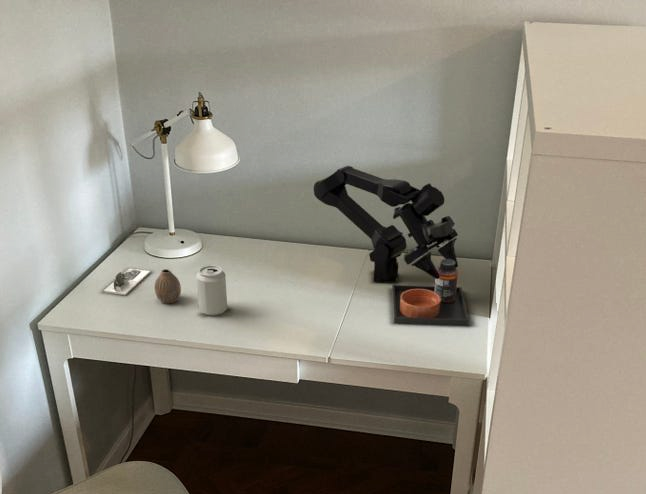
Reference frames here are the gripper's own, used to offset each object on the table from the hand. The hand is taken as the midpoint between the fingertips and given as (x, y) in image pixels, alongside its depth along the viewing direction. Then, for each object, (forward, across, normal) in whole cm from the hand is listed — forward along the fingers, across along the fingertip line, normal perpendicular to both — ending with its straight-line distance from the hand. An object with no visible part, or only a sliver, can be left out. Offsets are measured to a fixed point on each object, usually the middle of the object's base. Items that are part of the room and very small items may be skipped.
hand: (447, 272), depth 214 cm
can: (-24, -46, +37) cm, 64 cm away
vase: (-34, -50, +46) cm, 76 cm away
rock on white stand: (-46, -50, +59) cm, 90 cm away
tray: (+5, -7, +6) cm, 11 cm away
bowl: (+5, -10, +7) cm, 13 cm away
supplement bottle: (+6, 0, +6) cm, 8 cm away
